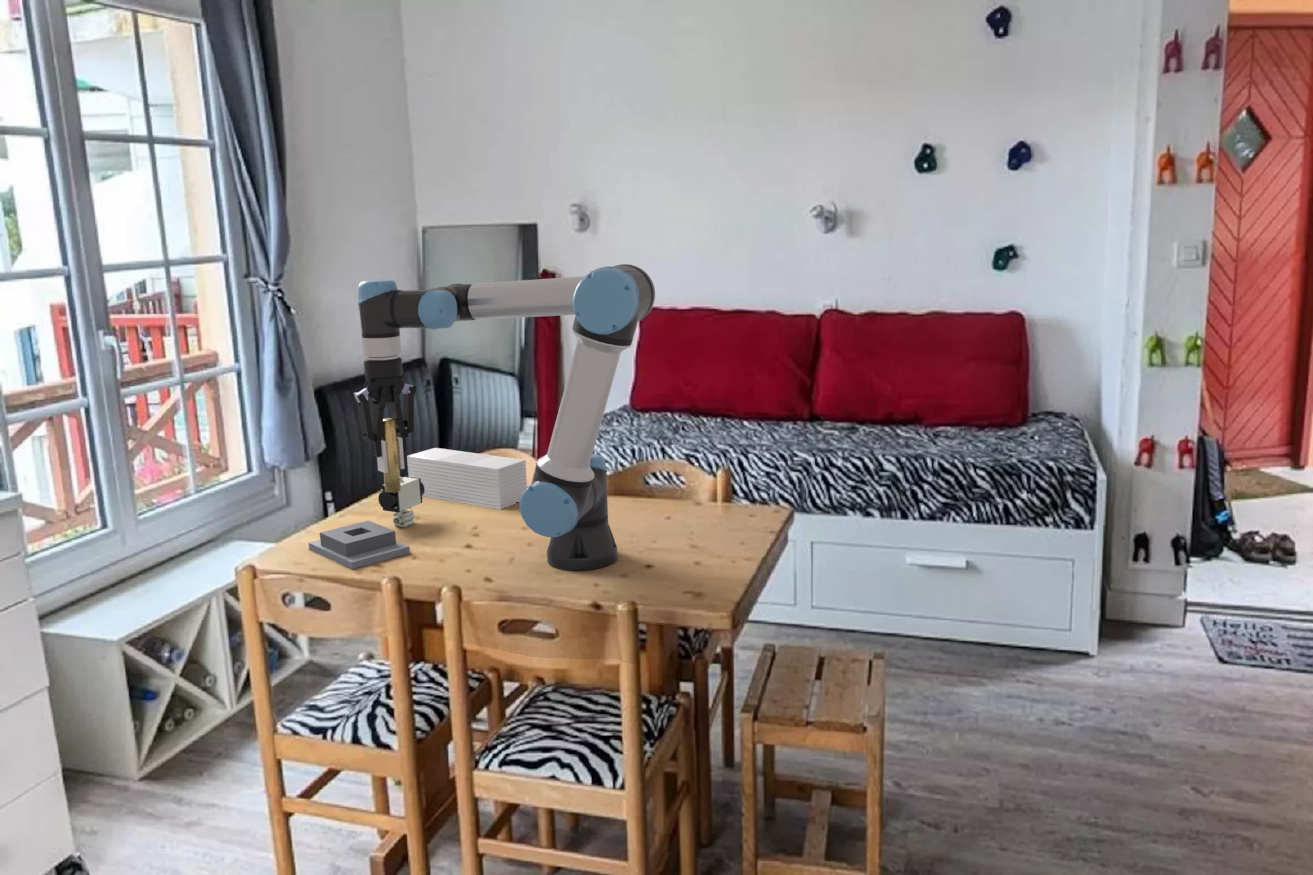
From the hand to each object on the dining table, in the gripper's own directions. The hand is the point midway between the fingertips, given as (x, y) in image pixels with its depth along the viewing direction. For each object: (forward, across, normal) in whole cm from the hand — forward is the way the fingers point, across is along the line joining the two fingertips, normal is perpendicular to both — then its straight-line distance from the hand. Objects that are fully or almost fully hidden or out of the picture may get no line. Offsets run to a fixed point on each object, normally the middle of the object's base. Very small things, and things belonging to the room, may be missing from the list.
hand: (391, 469), depth 214 cm
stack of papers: (+22, -43, -37) cm, 61 cm away
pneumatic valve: (+22, -18, -28) cm, 40 cm away
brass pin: (+4, 0, 0) cm, 4 cm away
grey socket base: (+22, 0, -18) cm, 28 cm away
